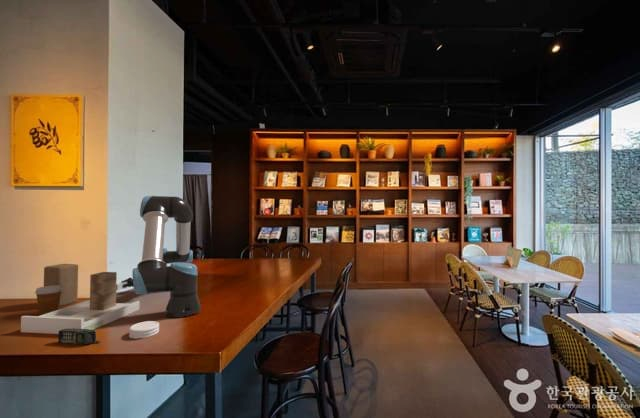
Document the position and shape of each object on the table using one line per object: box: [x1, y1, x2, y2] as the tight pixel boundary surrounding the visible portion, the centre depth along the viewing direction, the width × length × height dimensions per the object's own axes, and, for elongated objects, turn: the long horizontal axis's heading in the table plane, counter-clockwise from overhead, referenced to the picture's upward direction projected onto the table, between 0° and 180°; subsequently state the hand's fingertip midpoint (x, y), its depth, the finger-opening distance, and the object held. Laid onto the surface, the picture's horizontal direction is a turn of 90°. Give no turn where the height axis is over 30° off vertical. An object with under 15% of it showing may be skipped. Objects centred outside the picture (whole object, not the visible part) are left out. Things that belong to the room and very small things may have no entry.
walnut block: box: [89, 271, 118, 310], centre depth 136 cm, size 7×7×16 cm
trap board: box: [20, 299, 141, 335], centre depth 128 cm, size 31×26×6 cm
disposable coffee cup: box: [34, 285, 63, 316], centre depth 136 cm, size 10×10×12 cm
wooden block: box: [43, 263, 79, 308], centre depth 150 cm, size 10×10×20 cm
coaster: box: [128, 320, 160, 340], centre depth 113 cm, size 10×10×4 cm
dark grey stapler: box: [57, 329, 101, 346], centre depth 104 cm, size 5×3×15 cm
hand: (116, 287), depth 144 cm, fingers closed
